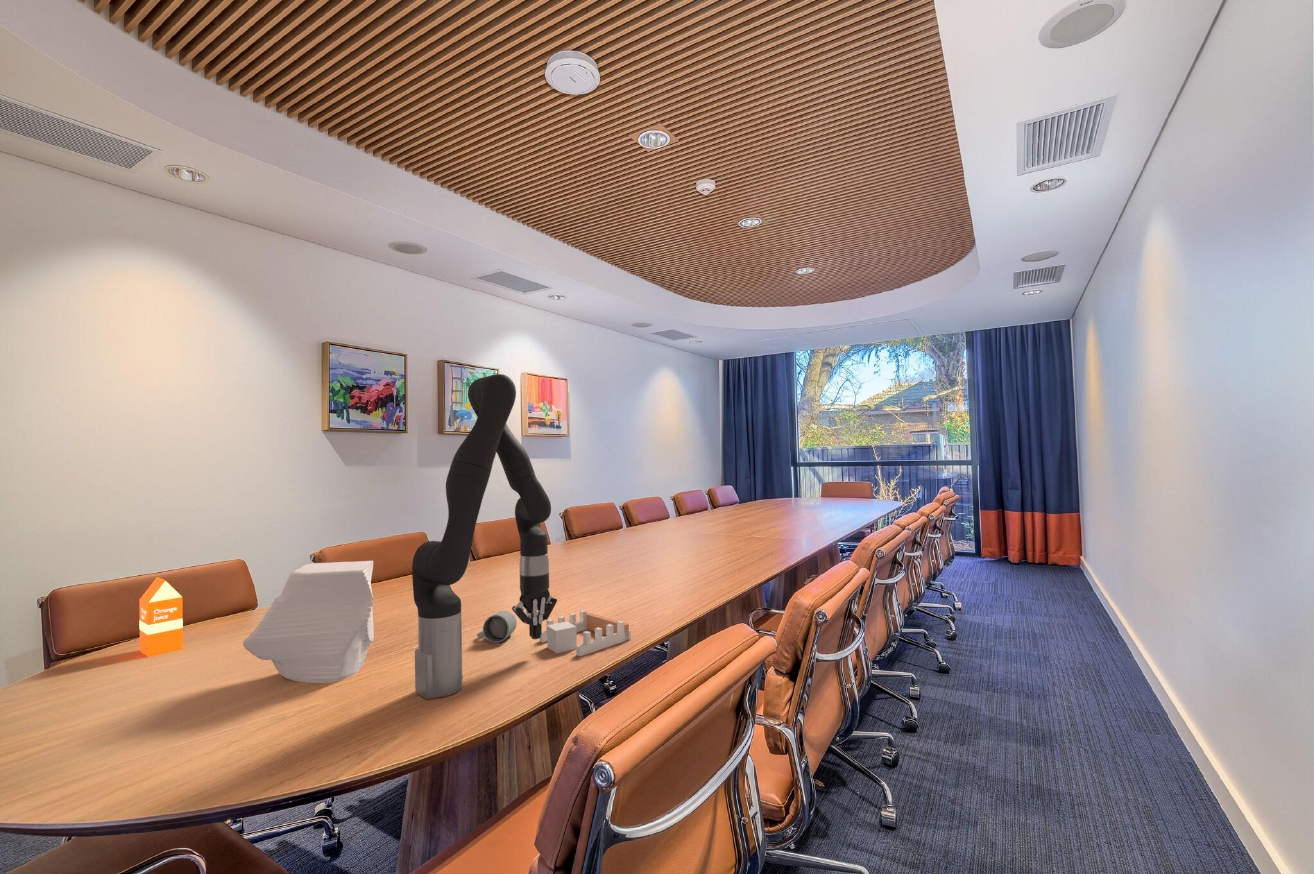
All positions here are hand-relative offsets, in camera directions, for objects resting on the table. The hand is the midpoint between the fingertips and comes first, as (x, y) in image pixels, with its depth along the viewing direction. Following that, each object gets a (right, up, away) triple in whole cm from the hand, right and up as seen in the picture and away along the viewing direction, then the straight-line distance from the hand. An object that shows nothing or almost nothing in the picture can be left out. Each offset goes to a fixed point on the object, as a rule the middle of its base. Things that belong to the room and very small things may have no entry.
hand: (535, 638), depth 153 cm
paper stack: (-52, -6, -6) cm, 53 cm away
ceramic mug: (-14, -6, +15) cm, 21 cm away
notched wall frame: (+12, -5, +12) cm, 17 cm away
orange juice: (-107, -7, +11) cm, 108 cm away
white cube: (+6, -5, +6) cm, 10 cm away
